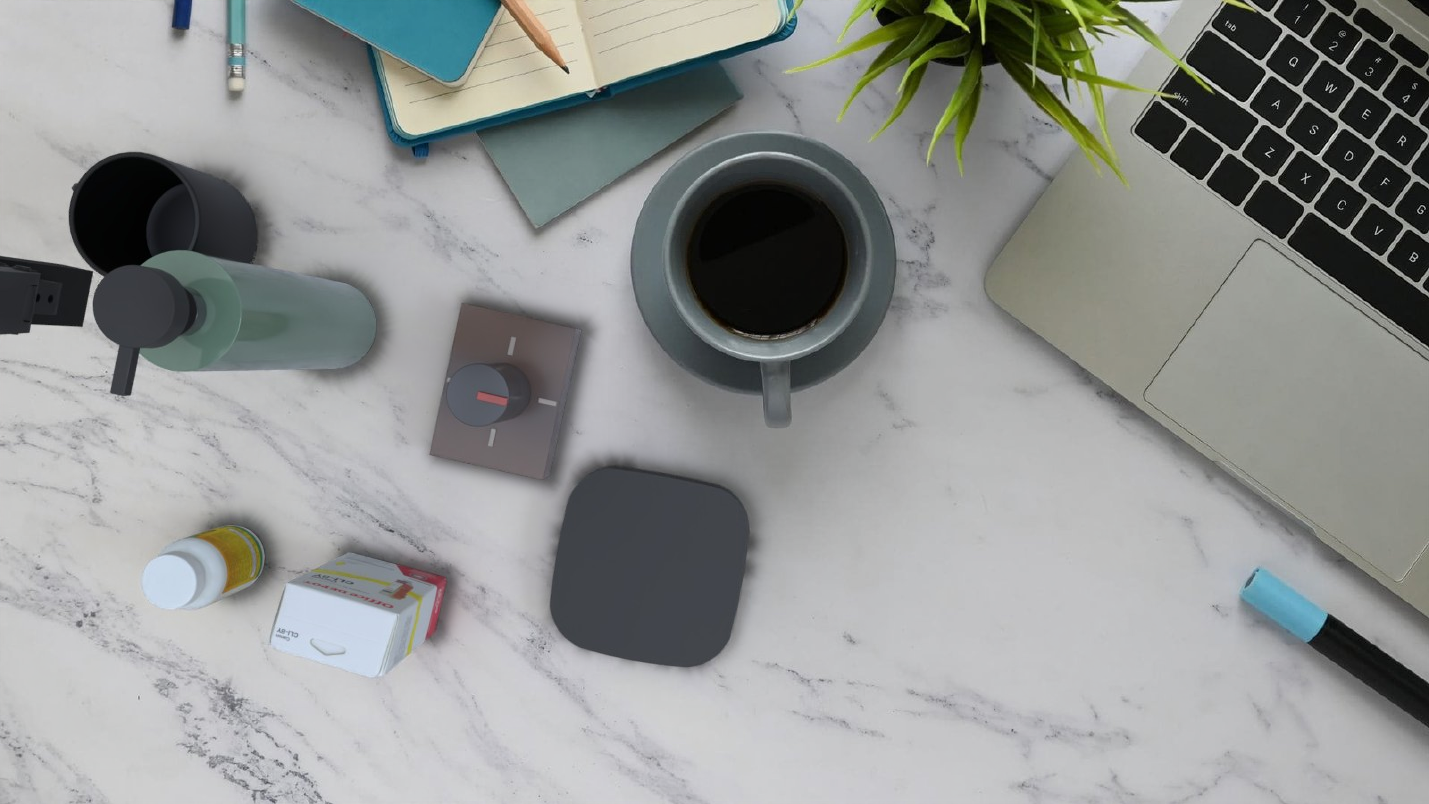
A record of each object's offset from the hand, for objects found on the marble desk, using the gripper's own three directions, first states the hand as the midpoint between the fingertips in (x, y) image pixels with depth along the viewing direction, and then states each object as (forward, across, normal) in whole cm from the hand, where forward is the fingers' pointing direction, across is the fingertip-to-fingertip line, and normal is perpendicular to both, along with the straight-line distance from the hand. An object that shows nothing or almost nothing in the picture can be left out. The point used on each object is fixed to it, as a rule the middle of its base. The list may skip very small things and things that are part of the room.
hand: (72, 295), depth 47 cm
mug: (+32, +13, -4) cm, 35 cm away
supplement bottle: (+32, +4, +20) cm, 38 cm away
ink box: (+32, -9, +20) cm, 39 cm away
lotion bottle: (+32, 0, 0) cm, 32 cm away
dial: (+29, -15, +2) cm, 33 cm away
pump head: (+7, 0, +2) cm, 8 cm away
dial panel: (+32, -15, +2) cm, 35 cm away
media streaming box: (+32, -29, +13) cm, 45 cm away
